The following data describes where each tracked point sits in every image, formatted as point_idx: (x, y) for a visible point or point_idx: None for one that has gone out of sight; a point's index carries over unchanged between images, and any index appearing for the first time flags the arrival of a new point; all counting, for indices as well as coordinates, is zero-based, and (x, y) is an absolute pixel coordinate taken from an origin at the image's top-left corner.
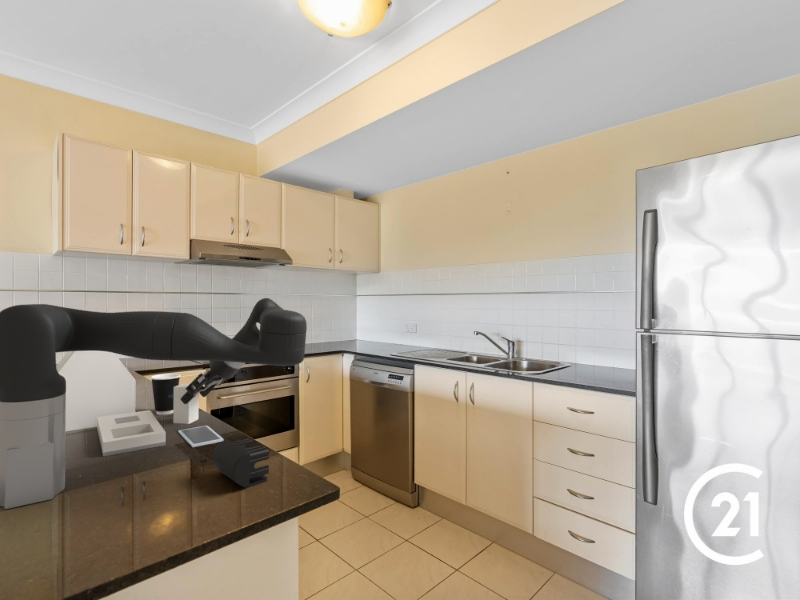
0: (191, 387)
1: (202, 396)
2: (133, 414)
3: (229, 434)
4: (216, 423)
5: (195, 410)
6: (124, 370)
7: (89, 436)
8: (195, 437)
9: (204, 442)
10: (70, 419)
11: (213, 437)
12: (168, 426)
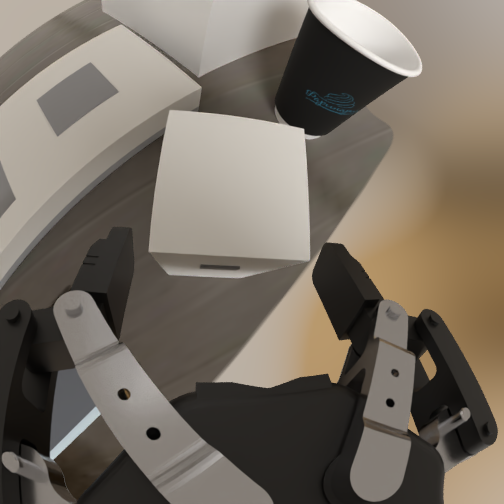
0: (34, 345)
1: (314, 268)
2: (140, 72)
3: (95, 467)
4: (193, 385)
5: (224, 274)
6: None
7: None
8: None
9: None
10: (118, 2)
11: None
12: (130, 211)
